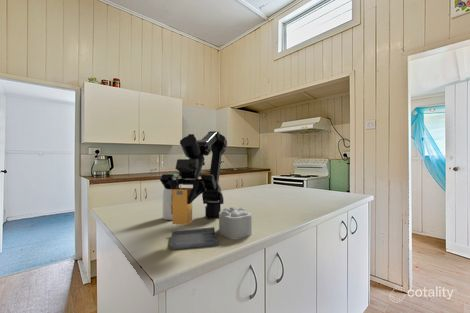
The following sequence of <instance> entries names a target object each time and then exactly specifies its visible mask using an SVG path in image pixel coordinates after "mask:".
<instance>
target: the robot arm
mask: <svg viewBox="0 0 470 313" xmlns="http://www.w3.org/2000/svg"><path fill="white" fill-rule="evenodd" d="M179 144H180V147H181V149H182V151H183V154H184V156H185V157H187V158H188V159H187V158H182V159H180V158H179V159H176V164H175V170H177V171H178V176H179V177H178V176H177V177H174V175H173V173H162V174H161V176H160V178H159V181H160V182H161V184H162V186H163V187H164V188H166V189H175V188H180V185H182V186H192V187H191V188H192V191H191V193H190V196H189V199H188V204H190V203H191V202H192V203H193V202H194V201H195V199H197V198H198V197H200V196H201V195H202V196H201V198H202V203H203V204H204V205H205V204H206V206H205V207H204V208H205V209H204V213H205V214H204V216H206V219H217V218H218V219H219V212H220V211H222V210H221V205H224V201H225V200H224V199H225V198H224V195H223V192H222V188H221V186H220V183H219V182H220V173H221V163H222V157H223V155H224V153H225V152H226V149H227V148H226V147H227V146H228V140H227V138H226V137H225V135H223V134H221V133H220V131H217V130H215V131H212V130H211V131H208V132H207V134H206V135H205V136H204V137H202V138H201V139H199V140H197V137H196V136H195V134H194V133H191V134H190V133H189V134H187V135H186V136H184V137H183V138H181V139H180V140H179ZM210 153H211V155H212V156H211V161H210V169H209V174H202V168H203V166H206V165H205V164H206V162H205V156H207V157H208V156H210Z"/></svg>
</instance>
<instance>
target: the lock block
mask: <svg viewBox="0 0 470 313" xmlns="http://www.w3.org/2000/svg"><path fill="white" fill-rule="evenodd" d="M192 188H193V187H179V188H175V189H172V208H173V220H172V225H184V226H188V225H189V224H190V223H192V222H193V201H192V202H191V203H190V204H188V199H189V196H190V193H191V191H192Z"/></svg>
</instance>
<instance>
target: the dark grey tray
mask: <svg viewBox="0 0 470 313" xmlns="http://www.w3.org/2000/svg"><path fill="white" fill-rule="evenodd" d="M218 246H220V241H219V238H218V235H217V233H216V230H215V227H214V226H213V227H203V228H187V229H186V228H185V229H176V230H175V229H173V230H171V237H170V243H169V251H174V250H184V249H193V248H194V249H196V248H205V247H206V248H207V247H218Z"/></svg>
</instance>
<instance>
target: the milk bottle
mask: <svg viewBox="0 0 470 313" xmlns="http://www.w3.org/2000/svg"><path fill="white" fill-rule="evenodd" d="M172 174H173V173H172ZM173 175H174V177H177V178H178V175H177V173H176V174H175V173H174V174H173ZM162 218H163V220H165V221H173V208H172V189H166V188H165V187H164V188H163V191H162Z"/></svg>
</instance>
